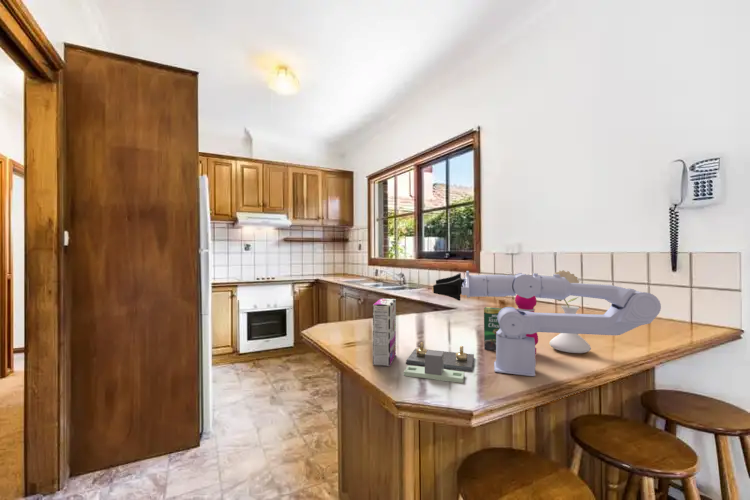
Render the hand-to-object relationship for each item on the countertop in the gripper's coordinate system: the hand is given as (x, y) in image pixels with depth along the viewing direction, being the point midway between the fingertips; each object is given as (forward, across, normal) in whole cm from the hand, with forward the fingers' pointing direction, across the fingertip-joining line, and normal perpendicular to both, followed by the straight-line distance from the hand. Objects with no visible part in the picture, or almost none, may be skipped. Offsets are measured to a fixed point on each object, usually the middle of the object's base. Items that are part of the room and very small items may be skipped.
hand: (434, 286), depth 97 cm
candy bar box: (+15, +4, +20) cm, 25 cm away
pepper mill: (-24, -16, +24) cm, 38 cm away
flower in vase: (-38, -23, +25) cm, 51 cm away
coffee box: (-16, -16, +24) cm, 33 cm away
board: (0, +12, +20) cm, 23 cm away
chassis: (-1, 0, +21) cm, 21 cm away
